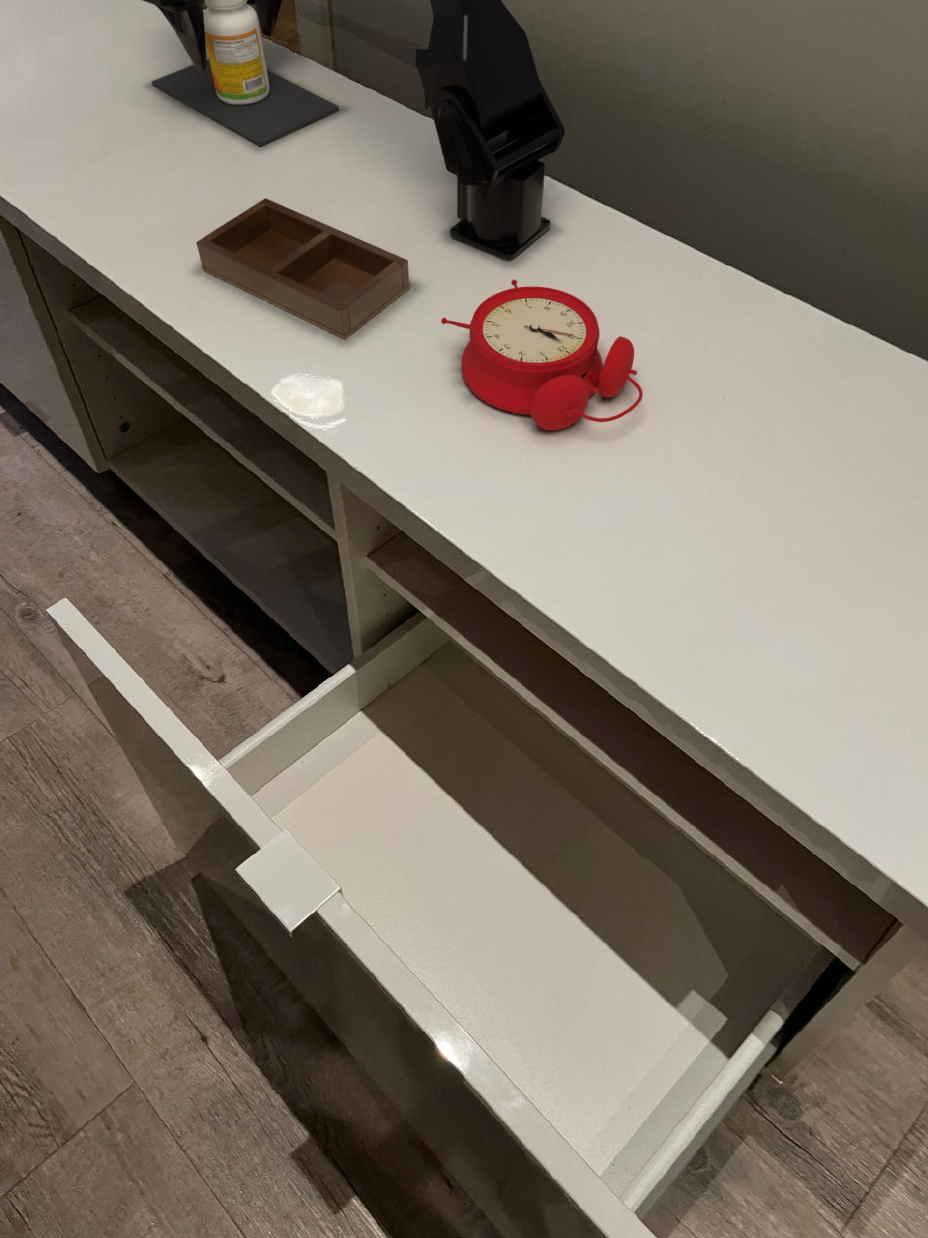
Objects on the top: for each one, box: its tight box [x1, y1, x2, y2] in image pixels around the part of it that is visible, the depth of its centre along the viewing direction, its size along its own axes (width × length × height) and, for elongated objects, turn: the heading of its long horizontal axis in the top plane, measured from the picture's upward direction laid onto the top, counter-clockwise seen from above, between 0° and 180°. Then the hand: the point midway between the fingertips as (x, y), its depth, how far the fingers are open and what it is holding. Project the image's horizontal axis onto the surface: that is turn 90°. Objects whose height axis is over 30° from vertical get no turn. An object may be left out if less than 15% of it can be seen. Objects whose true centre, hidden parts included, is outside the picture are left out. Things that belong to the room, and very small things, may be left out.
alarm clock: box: [440, 278, 644, 431], centre depth 66 cm, size 10×6×15 cm
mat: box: [151, 58, 340, 148], centre depth 94 cm, size 18×10×1 cm, turn 45°
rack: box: [195, 197, 410, 340], centre depth 74 cm, size 8×15×3 cm, turn 54°
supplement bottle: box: [203, 0, 270, 105], centre depth 89 cm, size 5×5×10 cm
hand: (235, 51), depth 90 cm, fingers open, 9 cm apart
